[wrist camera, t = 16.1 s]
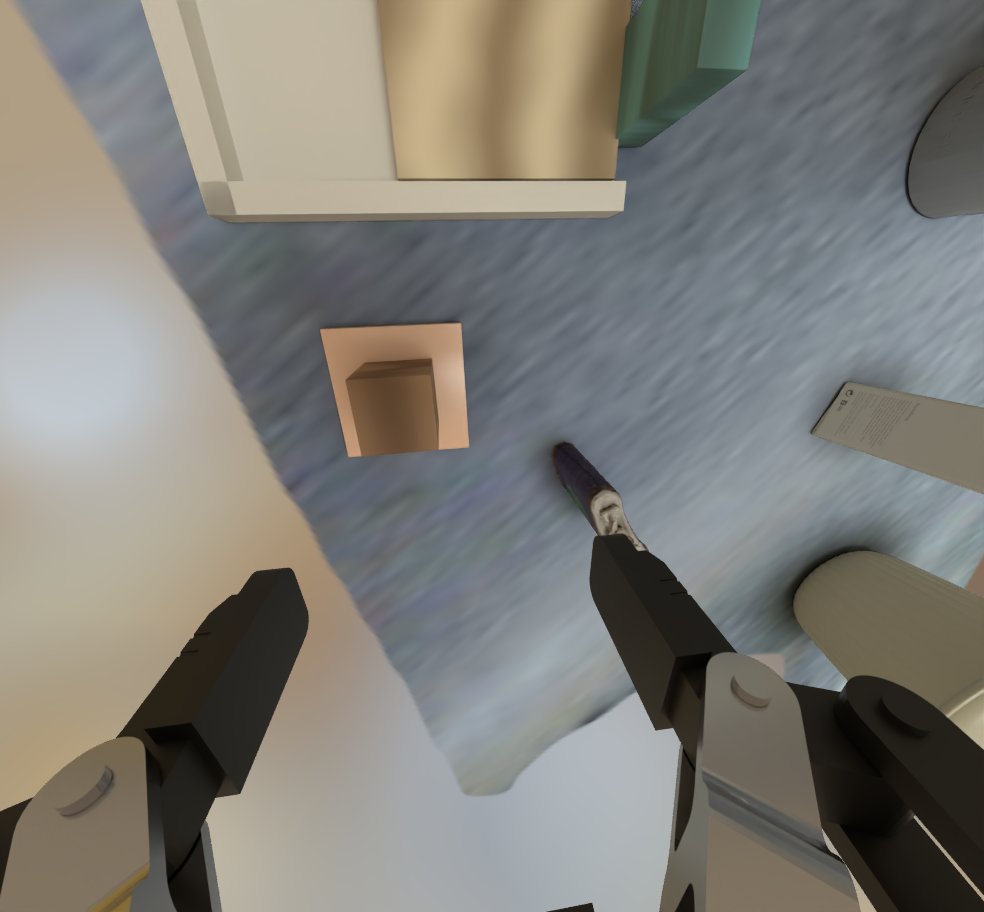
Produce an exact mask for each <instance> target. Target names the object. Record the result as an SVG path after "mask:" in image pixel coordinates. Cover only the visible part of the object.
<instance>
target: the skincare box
mask: <svg viewBox="0 0 984 912" xmlns="http://www.w3.org/2000/svg"><path fill="white" fill-rule="evenodd" d="M812 434H813V435H815V436H817V437H820V438H823V439H826V440H829V441H832V442H835V443H838V444H841V445H844V446H847V447H850V448H853V449H856V450H859V451H862V452H865V453H867V454H870V455H873V456H876V457H879V458H881V459H884V460H887V461H890V462H893V463H896V464H899V465H902V466H905V467H907V468H910V469H913V470H916V471H919V472H922V473H925V474H928V475H930V476H933V477H936V478H939V479H942V480H945V481H947V482H950V483H953V484H956V485H958V486H961V487H964V488H967V489H970V490H972V491H975V492H978V493H981V494H984V408H982V407H977V406H972V405H967V404H962V403H956V402H951V401H946V400H941V399H936V398H931V397H926V396H920V395H915V394H910V393H904V392H899V391H894V390H889V389H883V388H878V387H873V386H868V385H862V384H857V383H852V382H848V383H846V384H845V386H844V387H843V388H842V390H841V392H840V393H839V395H838V397H837V398H836V400H835V401H834V402H833V404H832V405H831V407H830V408H829V409H828V410H827V412H826V413H825V414H824V416H823V417H822V419H821V420H820V421H819V423H818V424H817V426H816V427H815V429H814V430H813V432H812Z"/></svg>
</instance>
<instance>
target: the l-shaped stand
mask: <svg viewBox="0 0 984 912" xmlns="http://www.w3.org/2000/svg"><path fill="white" fill-rule="evenodd" d="M631 2H632V0H377V3H378V12H379V20H380V29H381V37H382V46H383V54H384V63H385V71H386V80H387V89H388V97H389V106H390V114H391V123H392V131H393V140H394V149H395V157H396V166H397V174H398V180H399V181H612V180H613V179H615V173H616V163H617V152H618V147H642V146H644V145H645V144H646V143H648V142H649V141H650V140H652V139H653V138H654V137H656V136H657V135H659V134H660V133H661V132H663V131H664V130H665V129H667V128H668V127H670V126H671V125H672V124H674V123H675V122H676V121H678V120H679V119H681V118H682V117H683V116H685V115H686V114H687V113H689V112H690V111H691V110H693V109H694V108H696V107H697V106H698V105H700V104H701V103H702V102H704V101H705V100H707V99H708V98H709V97H711V96H712V95H713V94H715V93H716V92H718V91H719V90H720V89H722V88H723V87H724V86H726V85H727V84H728V83H730V82H731V81H733V80H734V79H735V78H737V77H738V76H739V75H741V74H742V73H744V72H745V71H746V70H747V69H748V64H749V59H750V54H751V49H752V44H753V39H754V34H755V29H756V24H757V19H758V14H759V9H760V4H761V0H644V2H643V3H642V5H641V6H640V7H639V9H638V10H637V12H636V13H635V15H634V16H633V18H632V19H631V20H630V13H631Z"/></svg>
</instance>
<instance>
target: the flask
mask: <svg viewBox="0 0 984 912" xmlns="http://www.w3.org/2000/svg"><path fill="white" fill-rule="evenodd" d="M552 458H553V465H554V467H555V468H556V471H557V474H558V475H559V478H560V480H561V482H562V483H563V485H564V487H565V488H566V489H567V490H568V492H569V493H570V495H571V496H572V498H573V499H574V501H575V503H576V504H577V505H578V507H579V508H580V510H581V511H582V512H583V514H584V516H585V517H586V518H587V520H588V521H589V523H590V524H591V526H592V527H593V529H594V530H595V531H596V533H597V535H598V536H601V535H610V534H619V533H623V534H625V535H626V536H627V537H628V538H629V540H630V541H631V542H632V544H633V545H634V546H635V548H636V549H637V550H638V551H643V550H647V551H648V552H649V550H648V549H647V547H646V546H645V545H644V544H643V543H642V542H641V541H640V540H639V539H638V538H637V537H636V535H635V533H634V532H633V530H632V528H631V526H630V525H629V523H628V521H627V518H626V516H625V513H624V509H623V502H622V500H621V497H620V495H619V493H618V492H617V491H616V490H615V489H614V488H613V487H612V486H611V485H610V484H609V483H608V482H607V481H606V480H605V479H604V477H603V476H602V475H600V474H599V472H598V471H597V470H596V469H595V467H594V466H593V465H591V464H590V463H589V461H588V460H586V459H585V458H584V456H583V455H582V454H581V453H580V452H579V451H578V450H577V449H576V448H575V446H574V445H573V444H571V443H567V442H565V441H563V443H561V444H559V445H557V446H556V447H555V448H554V449H553V451H552Z"/></svg>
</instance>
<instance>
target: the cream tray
mask: <svg viewBox="0 0 984 912" xmlns="http://www.w3.org/2000/svg"><path fill="white" fill-rule="evenodd" d="M141 3H142V6H143V9H144V12H145V15H146V19H147V22H148V25H149V28H150V31H151V35H152V38H153V41H154V44H155V48H156V51H157V54H158V57H159V60H160V64H161V67H162V70H163V73H164V76H165V80H166V83H167V86H168V89H169V92H170V96H171V99H172V102H173V105H174V108H175V112H176V115H177V118H178V121H179V124H180V128H181V131H182V134H183V137H184V140H185V144H186V147H187V150H188V153H189V156H190V160H191V163H192V166H193V169H194V173H195V176H196V179H197V182H198V185H199V189H200V192H201V195H202V198H203V201H204V205H205V208H206V211H207V214H208V215H209V216H212V217H215V218H218V219H221V220H224V221H227V222H230V223H236V222H316V221H397V220H477V219H558V218H609V217H611V216H613V215H615V214H617V213H620V212H622V211H623V210H624V200H625V191H626V181H399V180H398V174H397V166H396V157H395V149H394V140H393V131H392V123H391V114H390V106H389V97H388V89H387V80H386V71H385V63H384V54H383V46H382V37H381V29H380V20H379V12H378V3H377V0H141Z"/></svg>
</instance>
